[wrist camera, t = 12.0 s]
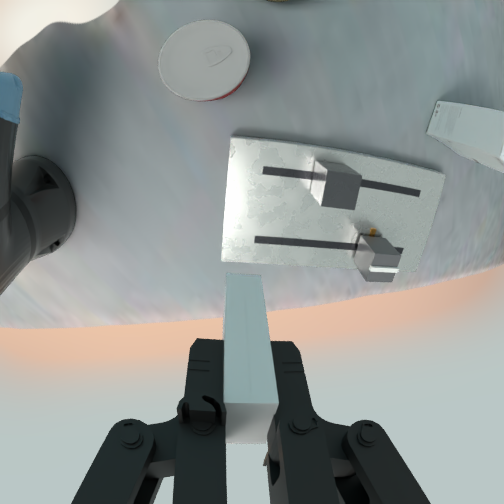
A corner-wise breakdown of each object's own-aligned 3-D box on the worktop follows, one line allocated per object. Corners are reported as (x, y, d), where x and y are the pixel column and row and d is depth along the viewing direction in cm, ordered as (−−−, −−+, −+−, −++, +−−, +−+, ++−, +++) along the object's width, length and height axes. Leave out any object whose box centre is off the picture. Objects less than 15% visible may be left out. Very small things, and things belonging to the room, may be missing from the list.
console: (221, 252, 43) (219, 283, 36) (231, 135, 35) (230, 144, 28) (408, 264, 45) (431, 291, 39) (436, 170, 38) (468, 187, 31)
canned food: (259, 74, 32) (269, 63, 22) (206, 114, 34) (194, 119, 24) (219, 29, 28) (213, 2, 19) (166, 69, 30) (139, 59, 21)
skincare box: (424, 133, 35) (496, 159, 22) (436, 97, 33) (511, 110, 20) (461, 156, 37) (528, 188, 24) (472, 123, 34) (542, 146, 21)
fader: (353, 261, 41) (366, 283, 36) (360, 235, 39) (375, 255, 34) (378, 263, 41) (393, 283, 37) (385, 237, 39) (403, 257, 35)
